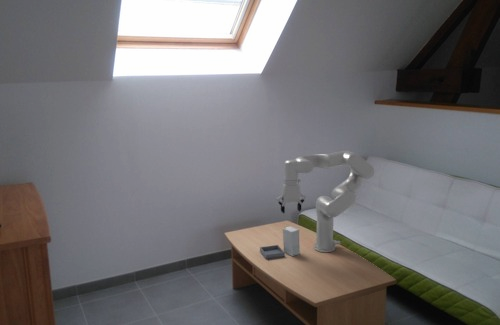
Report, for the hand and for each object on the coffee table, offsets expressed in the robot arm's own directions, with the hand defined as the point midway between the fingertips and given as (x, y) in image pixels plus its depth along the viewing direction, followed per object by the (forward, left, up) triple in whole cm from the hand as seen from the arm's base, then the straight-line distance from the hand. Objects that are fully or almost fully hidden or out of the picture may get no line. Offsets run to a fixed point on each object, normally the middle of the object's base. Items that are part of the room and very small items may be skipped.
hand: (291, 211), depth 237 cm
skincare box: (0, 0, -25) cm, 25 cm away
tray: (+11, -2, -25) cm, 27 cm away
